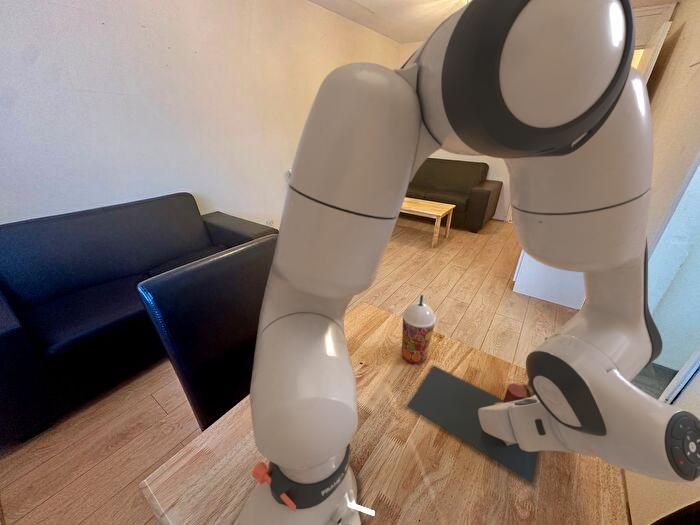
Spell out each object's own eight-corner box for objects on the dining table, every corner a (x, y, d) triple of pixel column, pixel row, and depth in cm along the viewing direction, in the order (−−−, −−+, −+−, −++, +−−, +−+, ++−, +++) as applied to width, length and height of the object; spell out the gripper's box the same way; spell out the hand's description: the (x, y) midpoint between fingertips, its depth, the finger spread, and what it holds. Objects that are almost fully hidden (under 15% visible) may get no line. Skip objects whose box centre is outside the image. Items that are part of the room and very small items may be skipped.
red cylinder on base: (526, 441, 57) (541, 403, 53) (506, 446, 56) (520, 407, 52) (502, 411, 63) (513, 374, 59) (484, 414, 63) (494, 378, 58)
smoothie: (392, 355, 79) (397, 295, 70) (410, 341, 84) (417, 283, 75) (417, 372, 74) (426, 310, 65) (435, 356, 79) (446, 296, 70)
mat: (531, 485, 51) (532, 483, 51) (406, 407, 65) (407, 406, 65) (542, 422, 62) (543, 420, 61) (433, 367, 75) (433, 365, 75)
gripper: (609, 385, 48) (545, 379, 61) (504, 408, 44) (459, 397, 57) (626, 426, 46) (555, 412, 59) (517, 454, 42) (467, 432, 55)
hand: (507, 404), depth 58 cm, fingers closed on red cylinder on base, 3 cm apart
